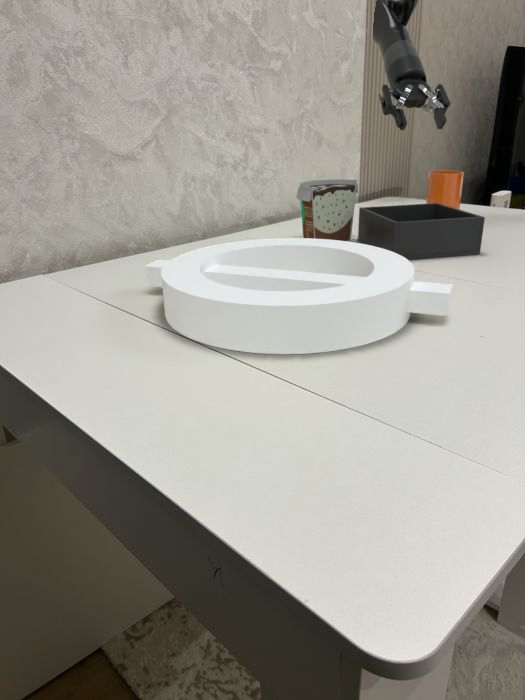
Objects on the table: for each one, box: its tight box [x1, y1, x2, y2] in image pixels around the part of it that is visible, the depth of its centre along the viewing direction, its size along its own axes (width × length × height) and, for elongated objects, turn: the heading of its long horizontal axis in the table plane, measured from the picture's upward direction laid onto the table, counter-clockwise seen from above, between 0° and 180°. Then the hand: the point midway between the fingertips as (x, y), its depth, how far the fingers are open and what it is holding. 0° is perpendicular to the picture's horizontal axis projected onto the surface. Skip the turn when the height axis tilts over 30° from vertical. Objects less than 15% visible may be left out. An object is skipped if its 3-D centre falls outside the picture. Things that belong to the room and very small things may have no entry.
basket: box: [357, 203, 486, 261], centre depth 87 cm, size 14×14×6 cm
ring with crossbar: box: [143, 237, 454, 355], centre depth 63 cm, size 28×28×5 cm
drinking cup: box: [425, 169, 465, 210], centre depth 108 cm, size 6×6×9 cm
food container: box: [295, 178, 359, 242], centre depth 90 cm, size 12×6×10 cm, turn 134°
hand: (423, 126), depth 113 cm, fingers open, 8 cm apart
